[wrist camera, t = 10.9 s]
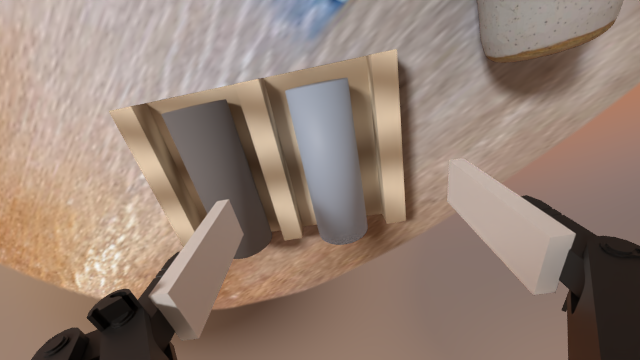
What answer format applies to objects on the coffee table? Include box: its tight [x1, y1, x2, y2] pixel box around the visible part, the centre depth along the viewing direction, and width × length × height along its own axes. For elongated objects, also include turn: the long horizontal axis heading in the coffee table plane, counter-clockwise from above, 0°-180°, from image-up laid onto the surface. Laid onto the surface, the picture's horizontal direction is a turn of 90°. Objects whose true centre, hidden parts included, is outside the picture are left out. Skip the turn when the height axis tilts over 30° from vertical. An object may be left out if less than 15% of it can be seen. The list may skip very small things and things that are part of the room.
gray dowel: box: [285, 78, 368, 245], centre depth 22 cm, size 14×5×5 cm, turn 11°
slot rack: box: [109, 49, 406, 247], centre depth 24 cm, size 16×24×3 cm, turn 101°
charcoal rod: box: [161, 99, 272, 259], centre depth 22 cm, size 14×5×5 cm
